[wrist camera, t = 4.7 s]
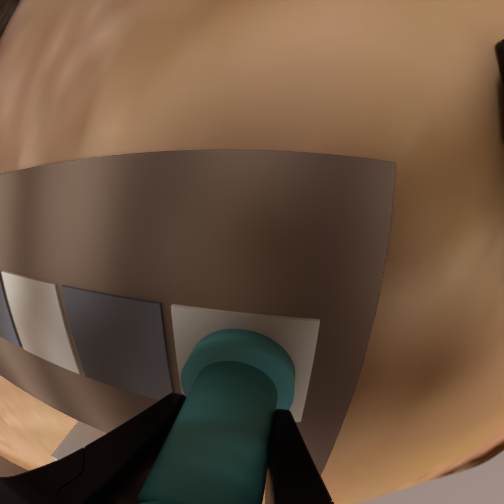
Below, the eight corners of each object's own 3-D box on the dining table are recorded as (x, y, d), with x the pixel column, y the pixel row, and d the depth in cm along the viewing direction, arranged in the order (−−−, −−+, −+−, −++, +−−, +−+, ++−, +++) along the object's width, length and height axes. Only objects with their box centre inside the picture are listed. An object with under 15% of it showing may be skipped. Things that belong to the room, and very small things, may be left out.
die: (127, 438, 14) (100, 483, 10) (141, 467, 15) (120, 508, 11) (80, 419, 15) (50, 456, 11) (97, 450, 16) (73, 485, 12)
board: (383, 163, 8) (397, 162, 7) (320, 457, 12) (320, 477, 11) (-54, 190, 12) (-66, 193, 10) (-18, 348, 16) (-27, 355, 14)
